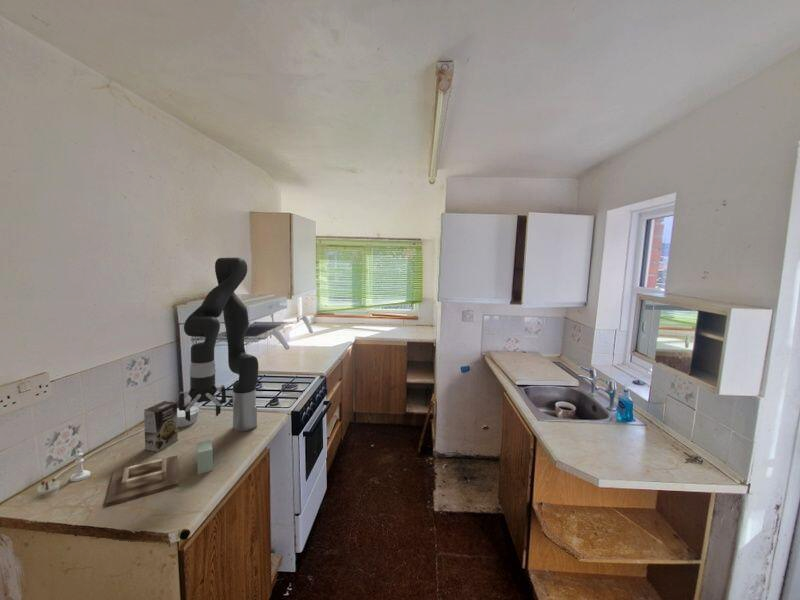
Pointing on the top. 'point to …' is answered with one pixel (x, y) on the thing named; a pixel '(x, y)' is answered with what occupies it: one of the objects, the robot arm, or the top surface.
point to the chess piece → (79, 468)
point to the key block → (204, 456)
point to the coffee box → (160, 426)
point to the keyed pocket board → (143, 479)
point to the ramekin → (181, 417)
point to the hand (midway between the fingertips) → (203, 417)
